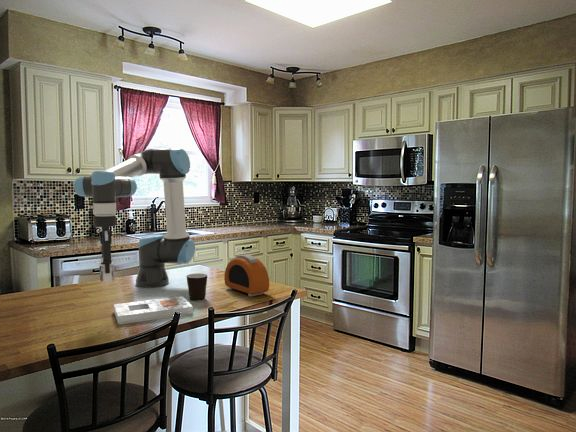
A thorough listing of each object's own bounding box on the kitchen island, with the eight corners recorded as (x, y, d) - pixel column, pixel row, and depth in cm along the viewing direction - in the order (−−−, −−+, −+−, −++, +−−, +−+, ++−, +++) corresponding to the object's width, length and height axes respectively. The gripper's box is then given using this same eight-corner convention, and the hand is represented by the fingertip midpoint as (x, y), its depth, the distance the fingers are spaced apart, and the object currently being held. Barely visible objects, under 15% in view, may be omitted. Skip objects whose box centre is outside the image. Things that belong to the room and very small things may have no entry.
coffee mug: (202, 302, 173) (202, 278, 172) (183, 301, 175) (182, 277, 174) (213, 295, 185) (213, 272, 184) (195, 293, 186) (194, 271, 185)
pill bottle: (103, 279, 153) (102, 256, 152) (116, 279, 153) (115, 256, 152) (97, 282, 148) (97, 259, 147) (111, 282, 148) (110, 259, 148)
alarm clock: (223, 288, 197) (223, 252, 195) (239, 285, 203) (239, 250, 201) (253, 298, 179) (253, 259, 178) (270, 295, 185) (270, 257, 184)
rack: (113, 312, 160) (113, 303, 159) (182, 303, 172) (182, 295, 171) (118, 324, 146) (118, 315, 145) (193, 314, 157) (193, 305, 157)
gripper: (92, 213, 155) (94, 276, 157) (93, 217, 139) (96, 287, 141) (114, 212, 158) (116, 274, 160) (118, 216, 142) (120, 284, 144)
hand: (107, 280), depth 151 cm, fingers closed on pill bottle, 5 cm apart
